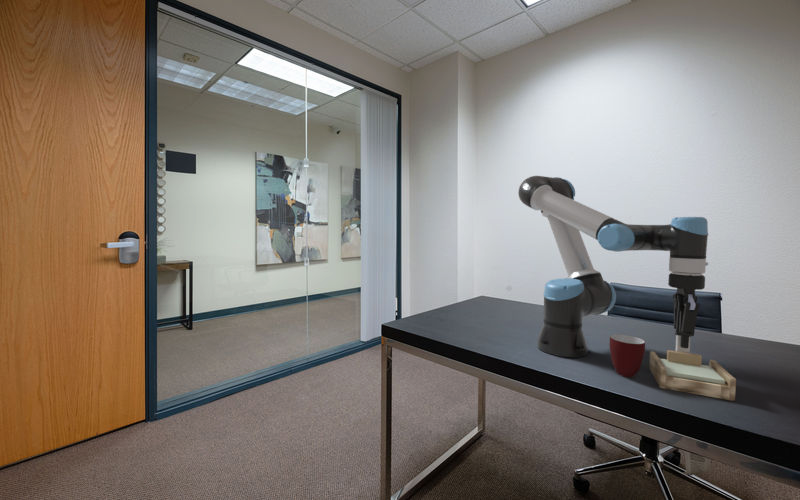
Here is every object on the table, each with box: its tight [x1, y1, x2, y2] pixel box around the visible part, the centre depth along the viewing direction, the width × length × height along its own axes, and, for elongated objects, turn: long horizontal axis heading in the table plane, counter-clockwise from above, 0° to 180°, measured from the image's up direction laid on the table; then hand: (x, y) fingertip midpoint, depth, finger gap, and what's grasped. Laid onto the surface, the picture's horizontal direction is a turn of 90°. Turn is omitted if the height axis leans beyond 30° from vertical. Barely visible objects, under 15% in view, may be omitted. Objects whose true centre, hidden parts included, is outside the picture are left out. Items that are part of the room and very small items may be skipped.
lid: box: [658, 349, 725, 385], centre depth 86 cm, size 11×10×4 cm
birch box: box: [648, 351, 737, 402], centre depth 86 cm, size 14×13×5 cm
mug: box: [609, 334, 646, 378], centre depth 92 cm, size 11×8×10 cm
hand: (682, 358), depth 91 cm, fingers closed
